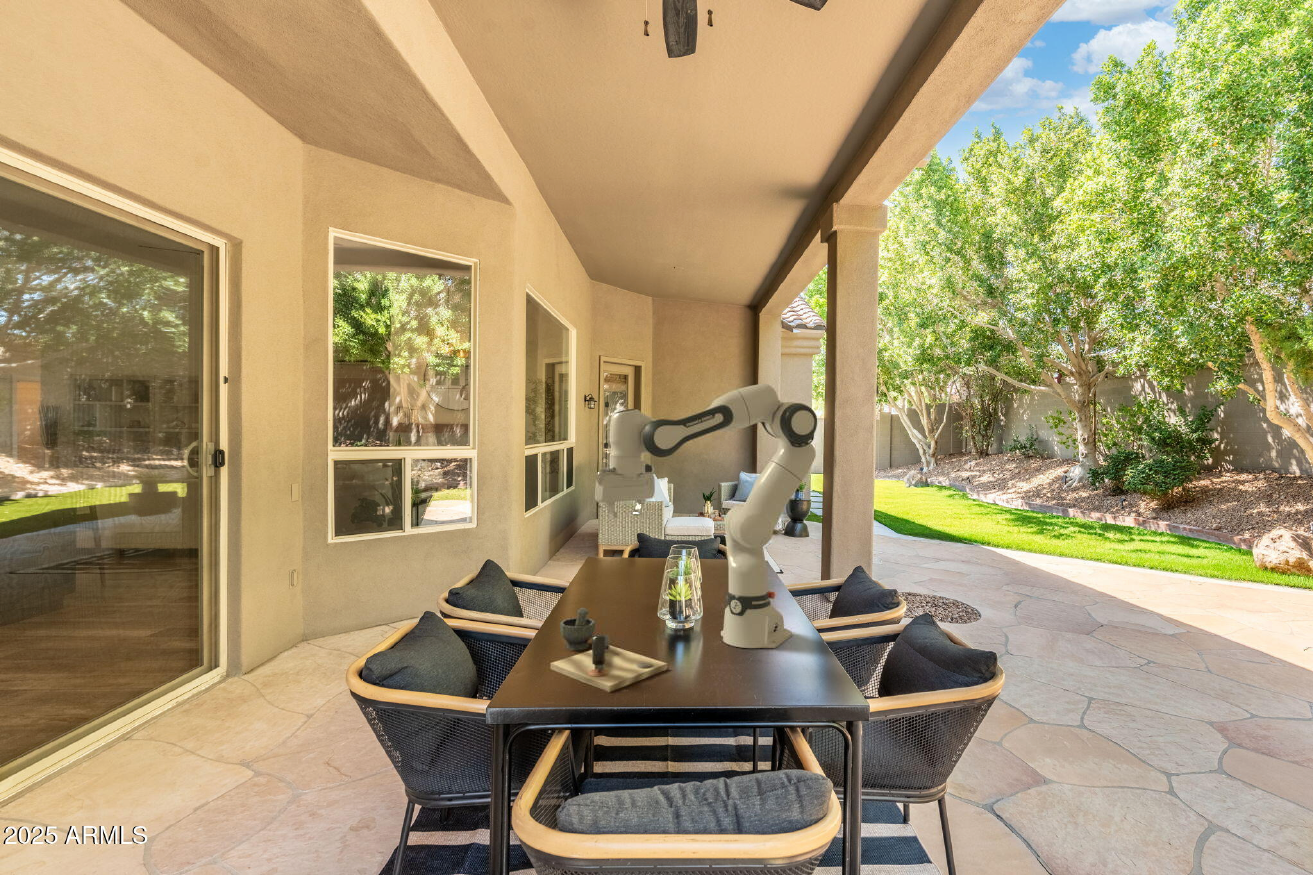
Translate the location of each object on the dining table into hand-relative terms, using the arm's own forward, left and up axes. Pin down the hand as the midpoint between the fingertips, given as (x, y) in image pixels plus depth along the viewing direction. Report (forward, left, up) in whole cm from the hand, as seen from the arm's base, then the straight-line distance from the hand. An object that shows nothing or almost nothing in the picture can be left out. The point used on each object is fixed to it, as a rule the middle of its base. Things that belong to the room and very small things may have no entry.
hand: (625, 517), depth 176 cm
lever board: (+13, +7, -37) cm, 40 cm away
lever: (+14, +5, -35) cm, 37 cm away
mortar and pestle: (+7, -12, -37) cm, 40 cm away
